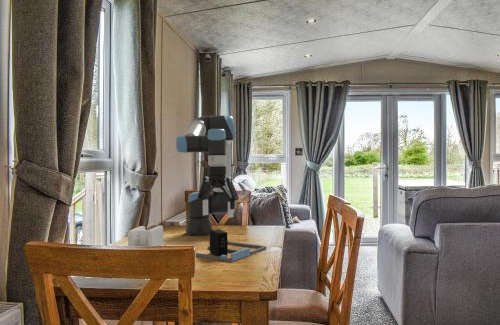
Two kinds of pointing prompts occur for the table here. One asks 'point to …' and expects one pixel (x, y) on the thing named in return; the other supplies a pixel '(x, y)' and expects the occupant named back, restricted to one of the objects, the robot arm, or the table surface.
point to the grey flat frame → (235, 252)
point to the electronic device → (218, 242)
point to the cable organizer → (145, 236)
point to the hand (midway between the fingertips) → (217, 216)
